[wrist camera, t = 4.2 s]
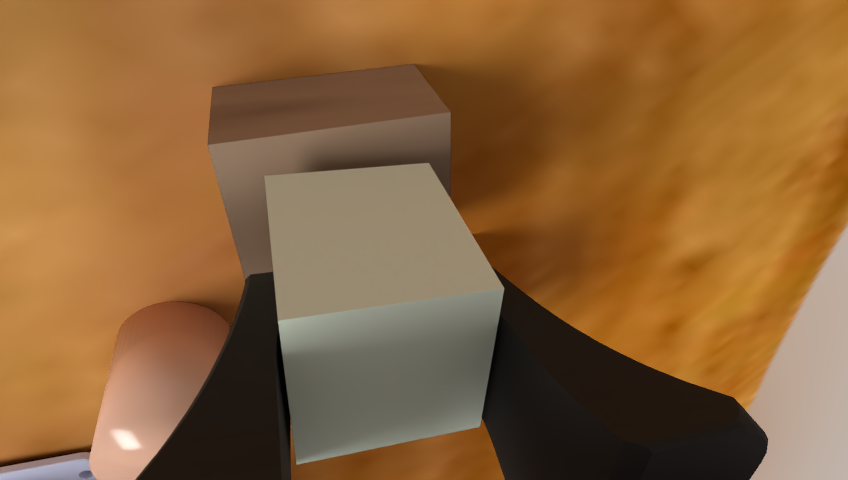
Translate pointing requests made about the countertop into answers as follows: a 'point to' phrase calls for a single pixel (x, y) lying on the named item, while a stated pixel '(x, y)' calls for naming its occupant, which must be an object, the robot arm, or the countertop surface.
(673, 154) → the countertop surface
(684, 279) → the countertop surface
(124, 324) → the terracotta cylinder
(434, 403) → the sage block
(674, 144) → the countertop surface
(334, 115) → the walnut block
